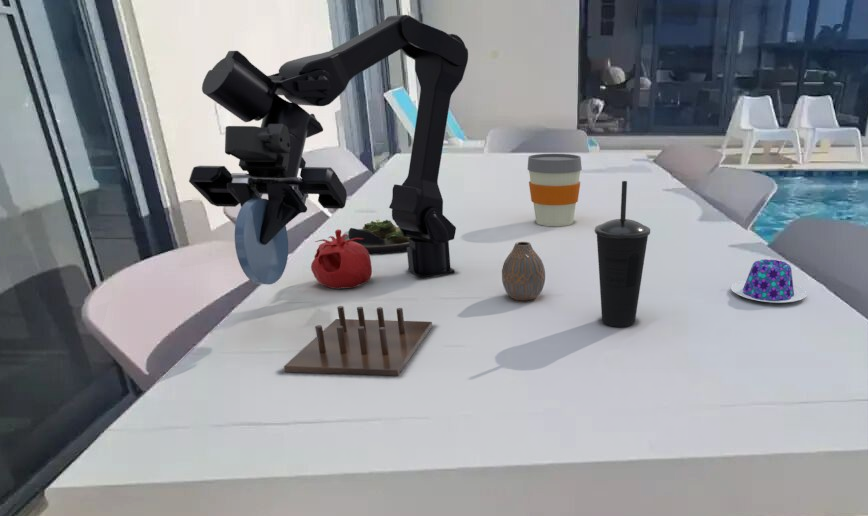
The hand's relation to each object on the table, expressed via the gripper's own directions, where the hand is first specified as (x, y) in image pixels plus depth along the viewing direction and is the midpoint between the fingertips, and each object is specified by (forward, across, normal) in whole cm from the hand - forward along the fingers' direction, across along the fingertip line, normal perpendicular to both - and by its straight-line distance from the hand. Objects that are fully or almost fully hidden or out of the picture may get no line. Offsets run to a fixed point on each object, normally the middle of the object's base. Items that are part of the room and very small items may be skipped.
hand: (256, 242), depth 81 cm
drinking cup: (+2, +47, +16) cm, 50 cm away
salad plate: (-26, -2, +45) cm, 52 cm away
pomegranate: (-8, 0, +27) cm, 28 cm away
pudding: (-7, +71, +26) cm, 76 cm away
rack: (+11, +13, +8) cm, 19 cm away
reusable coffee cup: (-43, +32, +62) cm, 82 cm away
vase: (-4, +32, +23) cm, 40 cm away
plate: (+3, 0, +5) cm, 6 cm away
